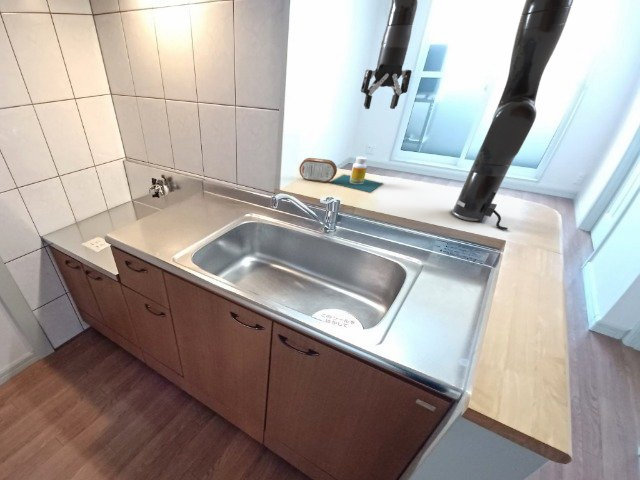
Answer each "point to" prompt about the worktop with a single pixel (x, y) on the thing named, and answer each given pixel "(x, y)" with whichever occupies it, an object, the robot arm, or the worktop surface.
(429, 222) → the worktop surface
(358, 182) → the supplement bottle
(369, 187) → the mat
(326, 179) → the tin
